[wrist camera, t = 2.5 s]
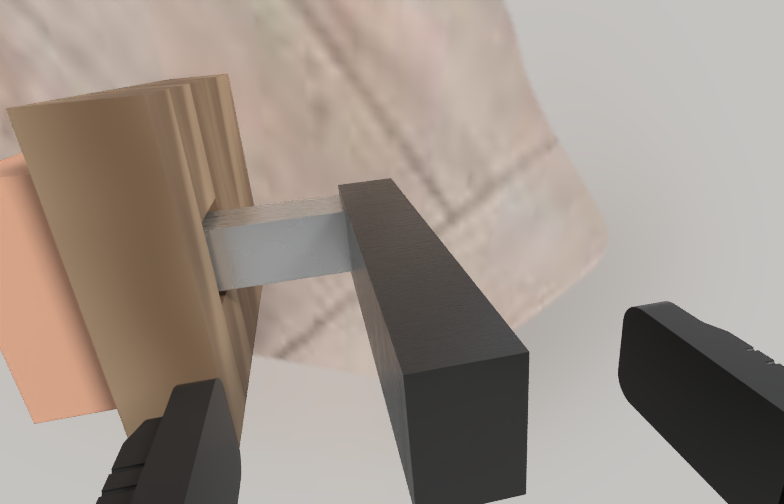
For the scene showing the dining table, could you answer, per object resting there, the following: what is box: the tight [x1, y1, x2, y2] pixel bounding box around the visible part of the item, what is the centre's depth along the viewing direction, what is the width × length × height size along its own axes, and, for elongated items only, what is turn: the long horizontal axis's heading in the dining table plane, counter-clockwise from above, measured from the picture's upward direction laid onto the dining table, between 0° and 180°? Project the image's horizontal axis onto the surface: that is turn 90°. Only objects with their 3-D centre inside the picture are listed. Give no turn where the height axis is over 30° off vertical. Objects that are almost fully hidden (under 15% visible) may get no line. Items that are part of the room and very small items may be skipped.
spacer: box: [0, 153, 117, 423], centre depth 18 cm, size 2×8×8 cm, turn 5°
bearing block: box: [6, 74, 262, 447], centre depth 21 cm, size 3×11×16 cm, turn 5°
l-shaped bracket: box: [202, 178, 529, 504], centre depth 13 cm, size 14×3×12 cm, turn 95°
